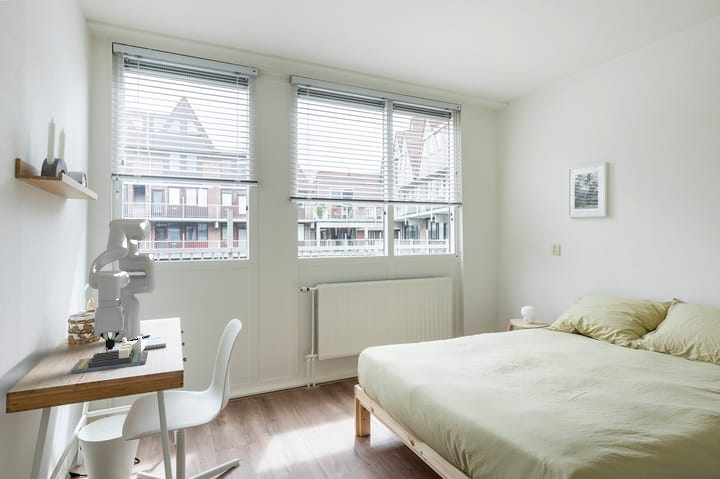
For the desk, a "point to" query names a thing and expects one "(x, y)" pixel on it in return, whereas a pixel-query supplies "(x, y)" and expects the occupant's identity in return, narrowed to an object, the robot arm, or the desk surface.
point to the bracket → (137, 344)
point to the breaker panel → (109, 361)
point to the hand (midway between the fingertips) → (110, 349)
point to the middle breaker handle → (126, 347)
